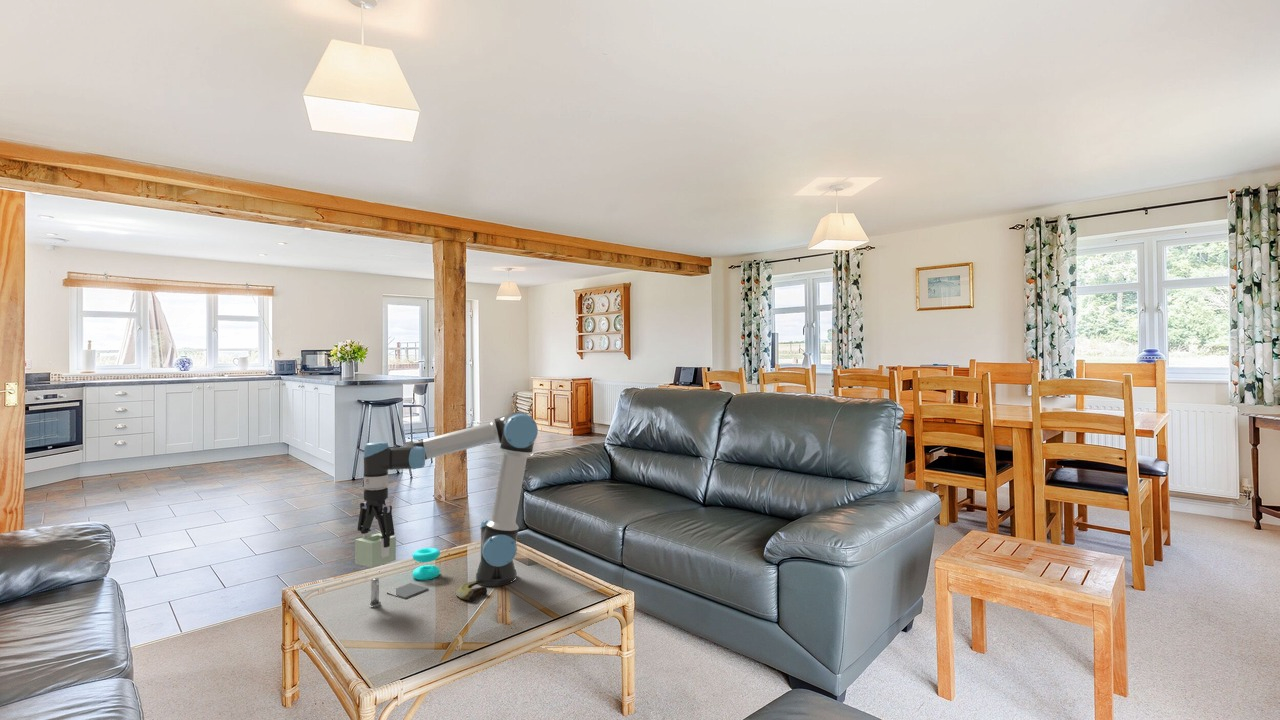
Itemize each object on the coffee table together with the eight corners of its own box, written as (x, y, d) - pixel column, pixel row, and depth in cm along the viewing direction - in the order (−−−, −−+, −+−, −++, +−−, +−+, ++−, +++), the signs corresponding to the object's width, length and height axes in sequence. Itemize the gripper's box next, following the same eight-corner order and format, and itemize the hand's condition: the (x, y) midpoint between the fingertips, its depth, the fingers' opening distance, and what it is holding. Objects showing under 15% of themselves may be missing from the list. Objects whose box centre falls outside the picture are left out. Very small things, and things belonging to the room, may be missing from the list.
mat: (428, 589, 212) (428, 588, 212) (405, 599, 203) (405, 597, 203) (410, 584, 217) (410, 583, 217) (386, 593, 208) (386, 591, 208)
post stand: (382, 604, 198) (383, 578, 199) (373, 608, 195) (373, 581, 195) (376, 602, 200) (376, 576, 200) (366, 606, 197) (366, 579, 197)
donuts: (443, 551, 225) (415, 556, 219) (442, 577, 224) (415, 583, 219) (436, 545, 233) (410, 549, 228) (436, 570, 233) (410, 575, 227)
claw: (489, 600, 203) (489, 590, 203) (458, 605, 199) (458, 595, 199) (481, 583, 221) (481, 574, 221) (452, 587, 217) (452, 578, 217)
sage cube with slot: (395, 560, 200) (395, 536, 200) (372, 567, 192) (372, 543, 192) (378, 556, 204) (378, 533, 204) (355, 563, 196) (355, 539, 196)
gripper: (346, 486, 201) (345, 552, 200) (386, 493, 190) (386, 562, 189) (365, 483, 207) (365, 546, 207) (406, 489, 196) (406, 556, 196)
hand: (375, 554), depth 198 cm, fingers closed on sage cube with slot, 9 cm apart
